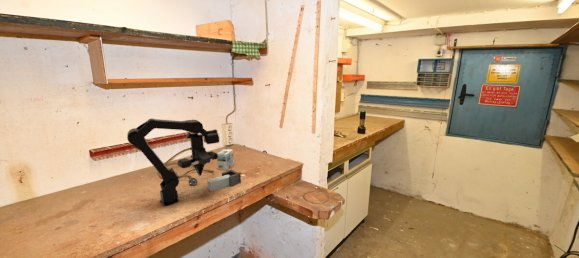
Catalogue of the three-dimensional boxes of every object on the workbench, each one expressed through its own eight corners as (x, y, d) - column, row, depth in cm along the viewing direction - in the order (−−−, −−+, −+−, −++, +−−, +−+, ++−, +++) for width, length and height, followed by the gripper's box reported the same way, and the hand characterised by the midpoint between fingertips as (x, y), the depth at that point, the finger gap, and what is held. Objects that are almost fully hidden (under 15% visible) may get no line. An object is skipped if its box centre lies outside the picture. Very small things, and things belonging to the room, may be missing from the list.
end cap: (231, 186, 138) (230, 177, 137) (222, 182, 144) (221, 172, 143) (240, 182, 143) (240, 173, 142) (231, 178, 149) (231, 169, 147)
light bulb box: (227, 170, 160) (226, 154, 158) (217, 169, 162) (216, 153, 159) (234, 164, 171) (233, 149, 168) (225, 163, 172) (224, 148, 169)
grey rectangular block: (211, 191, 133) (210, 182, 132) (208, 189, 136) (207, 180, 135) (232, 185, 141) (231, 176, 140) (228, 182, 144) (228, 174, 143)
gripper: (186, 153, 113) (189, 186, 116) (223, 144, 126) (225, 174, 130) (175, 148, 120) (178, 179, 124) (211, 140, 133) (213, 168, 137)
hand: (200, 175), depth 128 cm, fingers closed
